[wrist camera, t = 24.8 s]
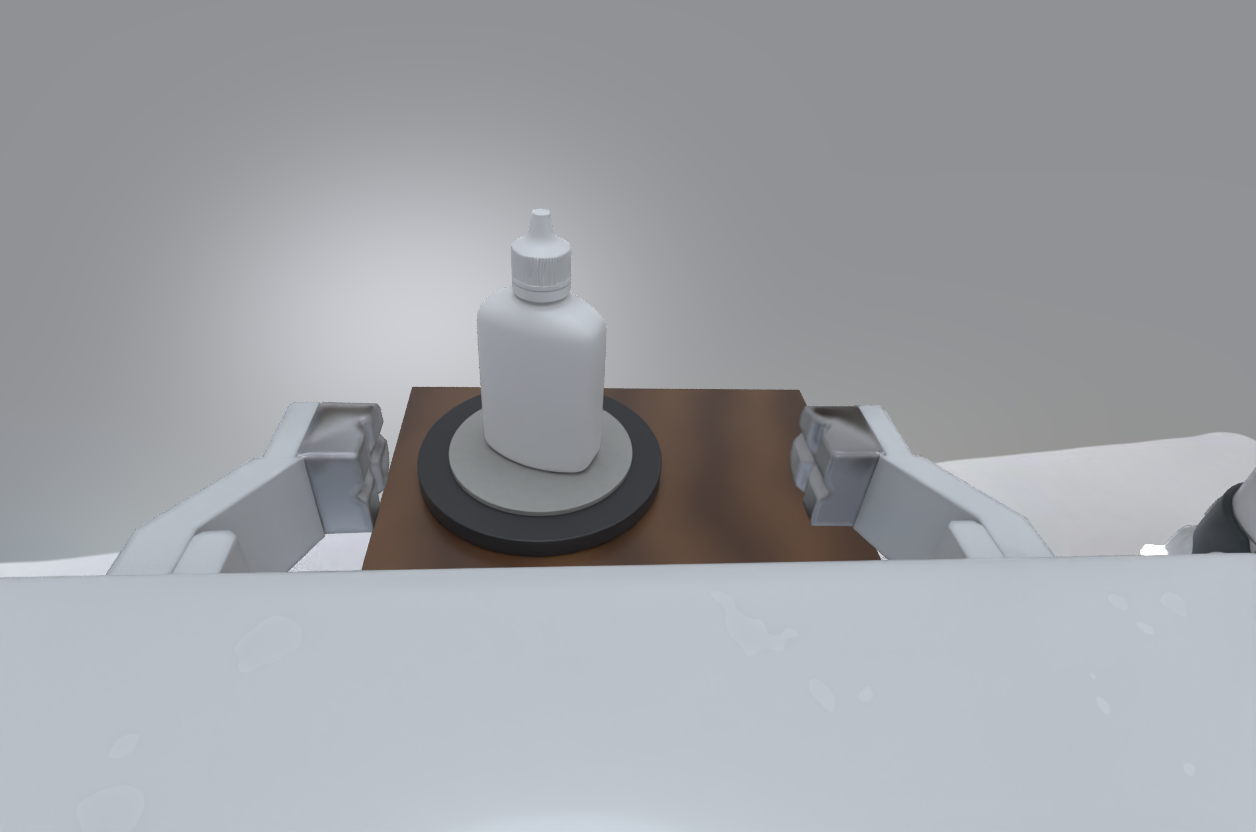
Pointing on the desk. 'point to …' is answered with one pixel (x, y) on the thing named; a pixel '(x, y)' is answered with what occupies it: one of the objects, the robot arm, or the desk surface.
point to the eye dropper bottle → (542, 359)
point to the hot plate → (537, 486)
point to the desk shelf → (684, 504)
